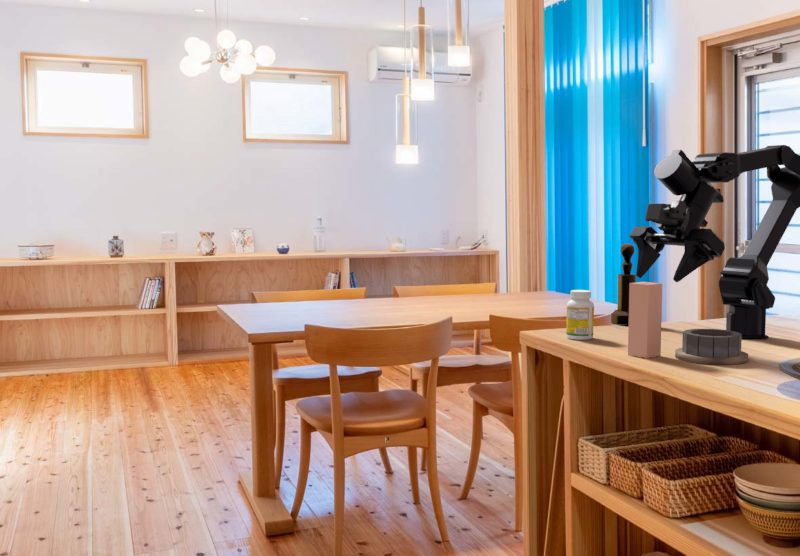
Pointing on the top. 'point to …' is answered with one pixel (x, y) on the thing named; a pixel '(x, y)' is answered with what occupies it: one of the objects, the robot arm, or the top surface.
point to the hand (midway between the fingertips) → (656, 278)
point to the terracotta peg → (645, 319)
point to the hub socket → (711, 347)
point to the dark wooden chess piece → (624, 287)
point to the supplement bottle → (580, 315)
